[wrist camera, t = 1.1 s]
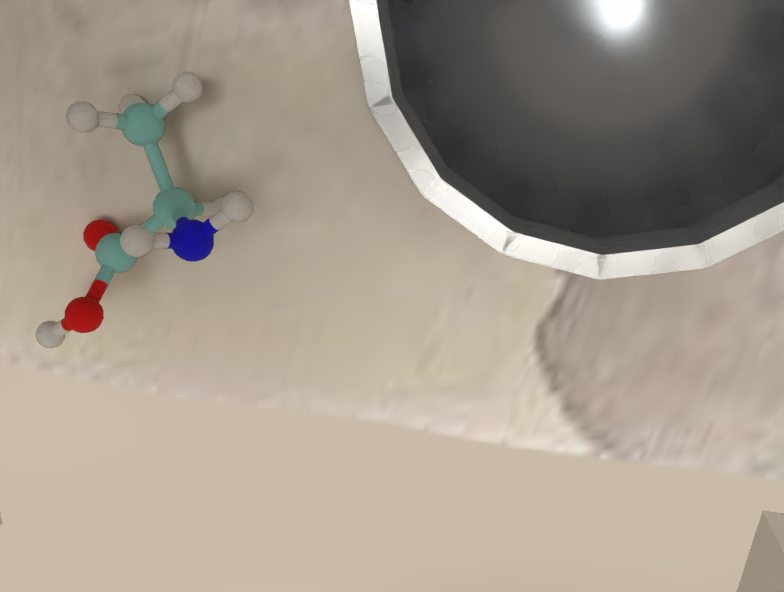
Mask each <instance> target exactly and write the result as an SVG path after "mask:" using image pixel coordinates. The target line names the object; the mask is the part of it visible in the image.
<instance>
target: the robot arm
mask: <svg viewBox="0 0 784 592" xmlns="http://www.w3.org/2000/svg"><path fill="white" fill-rule="evenodd" d="M1 524H2V519H1V513H0V525H1ZM737 592H784V514H783V513H777V512H769V511H762V515H761V518H760V521H759V524H758V527H757V530H756V533H755V537H754V540H753V543H752V546H751V549H750V552H749V555H748V558H747V562H746V565H745V568H744V571H743V574H742V577H741V580H740V583H739V587H738V590H737Z"/></svg>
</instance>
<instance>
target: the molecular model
mask: <svg viewBox="0 0 784 592" xmlns="http://www.w3.org/2000/svg"><path fill="white" fill-rule="evenodd" d="M201 93H202V82H201V81H200V79H199V78H198V77H197V76H196V75H195V74H193V73H190V72H183V73H181V74H179V75H177V76H176V77H175V79H174V81H173V90H172V91H170V92H169V93H168V94H167V95H166V96H164V97H163V98H162V99H161V100H160V101H158V102H157V103H156V104H155V105H154V106H152V105H150V104H147V103H145V101H144V100H143V99H142V98H141V97H139V96H137V95H127V96H125V97H124V98H122V100H121V101H120V104H119V110H120V113H121V114H115V113H108V112H100V111H97V110H96V108H95V107H94V106H93V105H91V104H90V103H87V102H76V103H74V104H72V105H71V106H70V107H69V108H68V111H67V114H66V117H67V121H68V123H69V125H70V126H71V127H72V128H73V129H74V130H76V131H79V132H90V131H92V130H94V129H95V128H96V127H97V126H99V127H107V128H116V129H122V132H123V134H124V136H125V137H126V138H127V139H128V140H129V141H130V142H132V143H133V144H136V145H139V146H144V149H145V151H146V154H147V156H148V159H149V162H150V164H151V167H152V170H153V172H154V175H155V178H156V180H157V183H158V185H159V188H160V191H161V192H160V193H159V194H158V195H157V196H156V198H155V200H154V203H153V212H154V214H155V215H153V216H152V217H151V218H150V219H148V220H147V221H146V222H145V223H143V224H142V225H132V226H129V227H127V228H126V229H124V231H123V232H122V234H121V233H118V232H117V230H116V228H115V227H114V225H113V224H111V223H110V222H108V221H105V220H96V221H93V222H91V223H89V224H88V225H87V226H86V228H85V230H84V232H83V234H84V241H85V243H86V245H87V246H88V247H89V248H90V249H92V250H94V251H95V254H96V258H97V261H98V263H99V264H100V266H101V269H100V270H99V272H98V274H97V276H96V278H95V280H94V282H93V284H92V285H91V287H90V289H89V291H88V293H87V295H86V297H79V298H76V299H74V300H72V301H71V302H70V303H69V304H68V306H67V307H66V310H65V318H64V319H62V320H61V321H59V322H55V321H47V322H44V323H42V324H41V325H40V326H39V327H38V328H37V331H36V339H37V341H38V342H39V343H40V344H41V345H42V346H44V347H46V348H54V347H57V346H59V345H60V344H62V342H63V341H64V339H65V334H66V333H68V332H69V331H71V330H74V331H76V332H80V333H87V332H91V331H94V330H96V329H97V328H98V327H99V326H100V324H101V322H102V320H103V318H104V317H103V309H102V306H101V305H100V304H99V301H100V300H101V298H102V296H103V294H104V292H105V290H106V288H107V286H108V284H109V282H110V280H111V278H112V276H113V274H114V273H120V272H124V271H127V270H129V269H130V268H131V267H133V265H134V264H135V262H136V260H137V257H140V256H144V255H146V254H147V253H149V252H150V250H151V249H158V248H172V249H173V251H174V252H175V254H176V255H177V256H179V257H180V258H182V259H184V260H187V261H199V260H202V259H204V258H206V257H207V256H208V255H209V254H210V252H211V251H212V249H213V246H214V236H213V234H215V233H216V232H217V231H219V230H220V229H221V228H223V227H224V226H225V225H227V224H228V223H229V222H231V221H234V222H242V221H245V220H247V219H248V218H249V217H250V216H251V214H252V211H253V203H252V200H251V198H250V197H249V196H248V195H247V194H245V193H243V192H240V191H235V192H231V193H229V194H227V195H226V196H225V197H219V198H217V199H216V200H215V201H214V202H213V203H209V202H195V201H194V199H193V197H192V196H191V195H190V194H189V193H188V192H187V191H186V190H184V189H181V188H177V187H174V185H173V182H172V180H171V177H170V174H169V172H168V169H167V166H166V164H165V161H164V158H163V156H162V153H161V151H160V148H159V145H158V143H157V142H158V141H159V140H160V139H161V138H162V136H163V134H164V132H165V121H164V117H165V116H166V115H167V114H168V113H170V112H171V111H172V110H173V109H174V108H176V107H177V106H178V105H179V104H180V103H182V102H183V101H184V102H193V101H195V100H197V99H198V98H199V97H200V96H201ZM195 215H200V216H211V217H210V218H209V219H207V220H206V221H205V222H200V221H198V220H193V218H194V216H195ZM162 226H166V227H169V228H174V230H173V232H172V233H154V232H156V231H157V230H158V229H160V228H161V227H162Z"/></svg>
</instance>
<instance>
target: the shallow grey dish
mask: <svg viewBox="0 0 784 592" xmlns="http://www.w3.org/2000/svg"><path fill="white" fill-rule="evenodd" d="M349 3H350V9H351V14H352V20H353V26H354V31H355V37H356V42H357V48H358V53H359V59H360V64H361V70H362V75H363V81H364V87H365V92H366V98H367V103H368V108H369V110H370V112H371V113H372V115H373V116H374V118H375V120H376V121H377V123H378V125H379V126H380V128H381V129H382V131H383V133H384V134H385V136H386V138H387V139H388V141H389V142H390V144H391V146H392V147H393V149H394V151H395V152H396V154H397V155H398V157H399V159H400V160H401V162H402V164H403V165H404V167H405V168H406V170H407V172H408V173H409V175H410V177H411V178H412V180H413V182H414V183H415V185H416V186H417V188H418V190H419V191H420V193H421V195H422V196H424V197H425V198H426V199H428V200H429V201H430V202H432V203H433V204H434V205H436V206H437V207H438V208H440V209H441V210H442V211H444V212H445V213H447V214H448V215H449V216H451V217H452V218H453V219H455V220H456V221H457V222H459V223H460V224H461V225H463V226H464V227H466V228H467V229H468V230H470V231H471V232H472V233H474V234H475V235H476V236H478V237H479V238H480V239H482V240H483V241H484V242H486V243H487V244H489V245H490V246H491V247H493V248H494V249H495V250H497V251H498V252H499V253H501V254H503V255H507V256H510V257H514V258H518V259H522V260H526V261H530V262H533V263H537V264H541V265H545V266H549V267H552V268H556V269H560V270H564V271H568V272H572V273H575V274H579V275H583V276H587V277H591V278H594V279H598V280H601V279H610V278H620V277H629V276H638V275H648V274H657V273H666V272H676V271H685V270H695V269H704V268H707V267H709V266H711V265H713V264H715V263H717V262H720V261H722V260H724V259H726V258H728V257H730V256H732V255H734V254H736V253H738V252H740V251H742V250H744V249H746V248H749V247H751V246H753V245H755V244H757V243H759V242H761V241H763V240H765V239H767V238H769V237H771V236H773V235H776V234H778V233H780V232H782V231H784V0H349Z"/></svg>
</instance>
